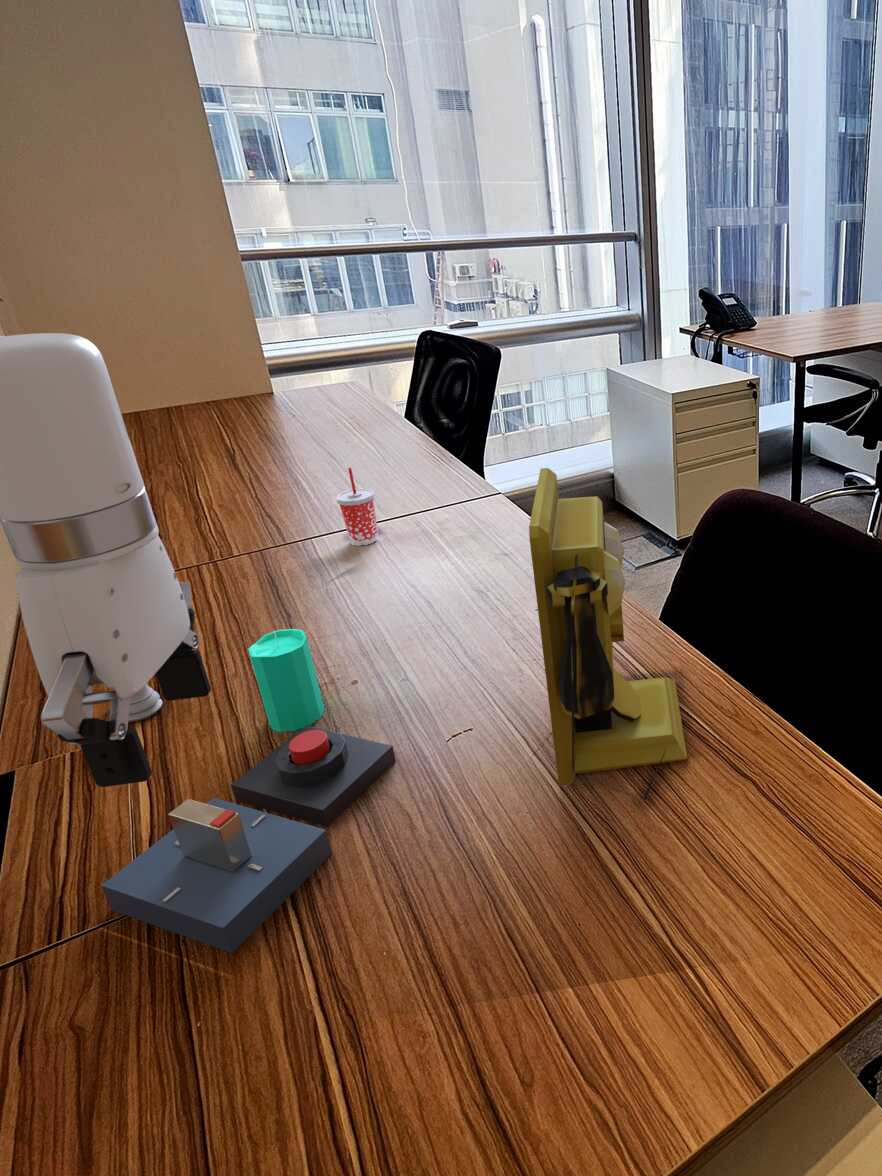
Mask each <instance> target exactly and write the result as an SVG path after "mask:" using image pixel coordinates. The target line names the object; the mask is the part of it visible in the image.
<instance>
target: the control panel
mask: <svg viewBox="0 0 882 1176" xmlns="http://www.w3.org/2000/svg"><path fill="white" fill-rule="evenodd" d="M205 804H208V805H211V806H215V807H218V808H222V809H225V810H226V809H227V810H231V811H234V812H235V813H238V814H239V816H240V819H241V822H242V825H243V829H244V832H245V835H246V838H247V841H248V844H249V847H250V850H251V854H252V856H251V857H250V858H249V859H248V860H246V861H245V862H244V863H243V864H242V865H241V866H240V867H239V868H238V869H236V870H235V871H234V872H231V871H228V870H225V869H222V868H219V867H216V866H213V865H210V864H206V863H203V862H200V861H197V860H194V859H191V858H188V857H185V856H183V854H182V851H181V848H180V846H179V843H178V840H177V837H176V835H175V832H174V829H173V828H172V829H171V830H170V831H169V832H168V833H166V834H165V835H164V836H162V837H161V838H160V839H159V840H157V841H156V842H155V843H154V844H152V845H151V846H149V847H148V848H147V849H146V850H144V851H143V852H142V853H140V854H139V855H138V856H137V857H136V858H134V859H133V860H132V861H130V862H129V863H127V864H126V865H125V866H124V867H123V868H121V869H120V870H119V871H118V872H116V873H115V874H114V875H112V876H110V878H109V879H107V880H106V881H105V882H103V883H102V884H101V885H100V887H101V889H102V891H103V893H104V896H105V898H106V901H107V903H108V905H109V907H110V910H111V911H113V912H115V913H119V914H121V915H125V916H127V917H130V918H132V919H135V920H138V921H141V922H144V923H146V924H149V925H151V926H155V927H158V928H159V929H163V930H166V931H168V932H172V933H174V934H177V935H179V936H182V937H186V938H188V939H191V940H194V941H197V942H199V943H202V944H205V945H207V946H211V947H213V948H216V949H218V950H222V951H225V952H227V953H230V954H233V953H234V952H235V951H236V950H237V949H238V948H239V947H240V946H241V945H242V944H243V943H244V942H245V941H246V940H247V939H249V937H251V935H252V934H253V933H254V932H255V931H256V930H257V929H259V927H260V926H261V925H262V924H263V923H264V922H265V921H266V920H267V919H268V918H269V917H270V916H272V914H273V913H274V912H275V911H276V910H277V909H278V908H279V907H281V905H282V904H283V903H285V901H286V900H287V899H288V898H289V897H290V896H291V895H292V894H294V892H295V891H296V890H297V889H298V888H299V887H300V886H301V885H302V884H303V883H304V882H305V881H307V879H309V877H310V876H311V875H312V874H313V873H314V872H315V871H317V869H318V868H319V867H321V866H322V865H323V863H324V862H325V861H326V860H327V859H328V858H329V857H330V856H331V855H333V852H332V851H333V850H332V847H331V844H330V841H329V837H328V833H327V830H326V829H324V828H321V827H317V826H314V825H311V824H307V823H304V822H300V821H297V820H293V819H289V818H286V817H282V816H279V815H275V814H272V813H269V812H265V811H262V810H258V809H256V808H255V809H254V808H251V807H249V806H244V805H240V804H238V803H233V802H231V801H227V800H224V799H219V798H216V797H213V798H212V799H210V800H209V801H208V802H206V803H205Z"/></svg>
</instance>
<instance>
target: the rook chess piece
mask: <svg viewBox="0 0 882 1176" xmlns="http://www.w3.org/2000/svg"><path fill="white" fill-rule="evenodd" d="M162 705H163V700H162V699H161V696H160V694H159V693H158V692H157V691H156V690H154V689H153V688H152V687H150V686H149V685H148V683H146V685H145V686H144V687H143V688H142V689H140V690H139V691H138V692H137V693H136V694H135V695H133V696H132V697H131V698H130V709H129V720H128V723H135V722H134V721H136V722H139V721H138V720H140V721H143V720H146V719H148V717H149V718H151V717H152V716H154V715H155V714H157V713H158V712H159V711H160V710H161V708H162ZM158 710H159V711H158ZM157 711H158V712H157ZM153 714H154V715H153ZM151 715H152V716H151ZM145 718H146V719H145ZM142 719H143V720H142Z"/></svg>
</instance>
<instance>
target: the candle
mask: <svg viewBox="0 0 882 1176" xmlns="http://www.w3.org/2000/svg"><path fill="white" fill-rule="evenodd" d="M307 638H308V637H307V635H306V633H305V631H304V630H303V629H296V628H287V629H284V628H283V629H277V630H273V631H272V632H269V633H266V634H264V635H262V636H261V637H260V638H259V639H258V640H257V641H256V642H254V643H253V644H252V645H251V646H250V647H248V648H247V651H248V655H249V659H250V661H251V665H252V668H253V672H254V675H255V679H256V683H257V686H258V690H259V693H260V697H261V699H262V704H263V708H264V710H265V713H266V714H265V715H266V717H267V721H268V724H269V726H271V727H270V729H271V730H272V729H273V730H272V731H275V730H276V732H279V733H288V732H287V731H290V732H297V731H299V730H301V728H304V727H305V726H306V725H308V726H309V725H310V726H312V725H313V724H314V723H316V722H317V721H318V720H319V719H321V718H322V716H323V714H324V712H325V706H324V705H325V704H324V700H323V697H322V694H321V689H320V685H319V681H318V678H317V673H316V669H315V665H314V662H313V659H312V658H313V656H312V654H311V649H310V646H309V641H308V639H307ZM320 717H321V718H320ZM316 720H317V721H316ZM312 723H313V724H312ZM298 729H299V730H298ZM296 730H297V731H296Z"/></svg>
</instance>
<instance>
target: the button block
mask: <svg viewBox="0 0 882 1176" xmlns="http://www.w3.org/2000/svg"><path fill="white" fill-rule="evenodd" d="M311 730H321V731H324V732H325V733H326V734H327V738H328V742H329V746H330V750H329V753H328V754H327V755H326V756H325V757H323V758H322V759H320V760H318V761H315V762H313V763H311V764H304V765H297V764H295V763H294V762H293V761H292V758H291V754H290V750H289V744H290V742H291V741H292V739H294V738H295V737H296V736H298V735H299V734H301V733H304V732H307V731H311ZM395 756H396V755H395V751H394V746H393V745H390V744H387V743H382V742H378V741H373V740H369V739H365V738H361V737H357V736H353V735H349V734H345V733H340V732H337V731H332V730H328V729H324V728H320V727H315V726H312V725H310V726H308V725H306V726H305V727H304V728H302V729H299V730H298V731H296V733H295V734H293V735H292V736H291V737H289V738H288V739H287V740H286V741H284V742H283V743H282V744H280V745H279V746H278V747H277V748H275V749H274V750H273V751H272V752H270V753H269V754H268V755H266V756H265V757H264V758H262V759H261V760H260V761H259V762H258V763H256V764H255V765H253V766H252V767H250V769H248V770H247V771H246V772H245V773H243V774H242V775H241V776H240V777H238V778H236V780H235V781H233V782H231V783H230V787H231V791H232V793H233V796H234V800H235V802H239V803H242V804H246V805H249V806H253V807H255V808H260V809H264V810H266V811H270V812H273V813H277V814H281V815H285V816H287V817H291V818H293V819H294V818H295V819H298V820H300V821H301V820H302V821H305V822H309V823H312V824H316V825H318V826H323V827H327V828H328V827H329V826H330V825H331V824H332V823H333V822H335V820H336V819H338V817H340V815H342V814H343V813H344V812H345V811H346V810H347V809H348V808H349V807H350V806H351V805H352V804H353V803H354V802H355V801H356V800H357V799H358V798H360V796H361V795H363V794H364V793H365V792H366V791H367V790H368V789H369V788H370V787H371V786H372V785H373V784H374V783H375V782H377V780H378V779H380V778H381V776H382V775H384V774H385V773H386V772H387V771H388V770H389V769H390V768H391V767H392V766H393V765H394V764H395V763H397V760H396V757H395Z"/></svg>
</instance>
